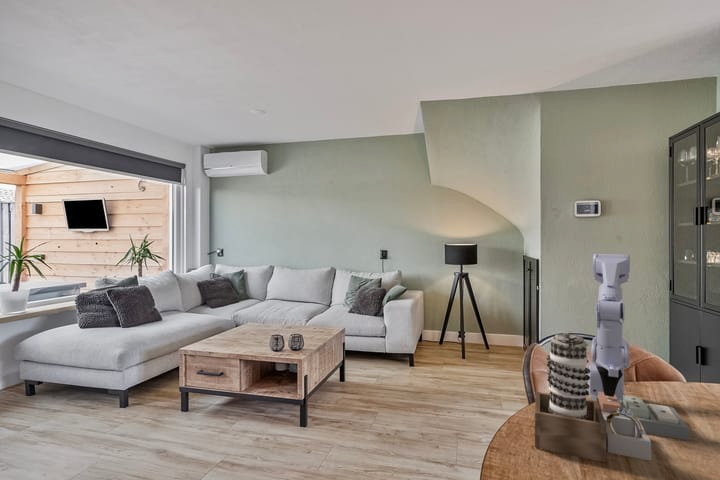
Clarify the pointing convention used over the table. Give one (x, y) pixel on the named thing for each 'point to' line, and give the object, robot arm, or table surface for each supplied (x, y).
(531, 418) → the table surface
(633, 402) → the tile three sage
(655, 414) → the tile one cream
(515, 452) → the table surface
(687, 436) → the button board
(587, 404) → the box
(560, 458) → the table surface
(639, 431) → the ring
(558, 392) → the decorative candle
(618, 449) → the bracelet dish
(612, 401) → the tile two terracotta
